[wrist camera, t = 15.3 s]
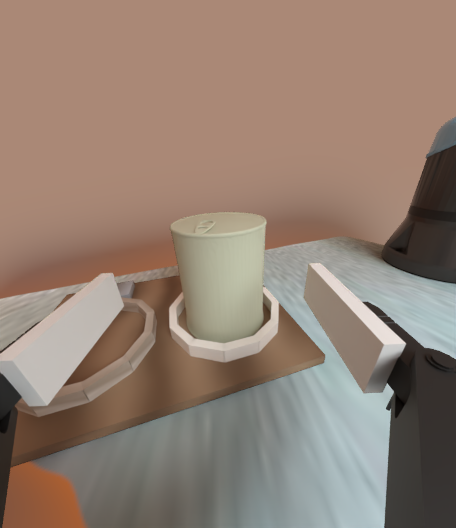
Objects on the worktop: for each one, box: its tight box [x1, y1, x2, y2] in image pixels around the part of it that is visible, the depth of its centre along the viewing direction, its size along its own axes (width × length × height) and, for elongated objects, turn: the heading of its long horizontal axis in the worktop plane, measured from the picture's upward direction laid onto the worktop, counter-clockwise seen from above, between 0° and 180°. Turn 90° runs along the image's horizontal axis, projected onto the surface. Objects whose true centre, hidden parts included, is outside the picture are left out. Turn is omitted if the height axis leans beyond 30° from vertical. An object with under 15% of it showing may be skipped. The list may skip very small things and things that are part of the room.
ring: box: [169, 287, 279, 363], centre depth 25 cm, size 13×18×2 cm
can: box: [170, 212, 267, 343], centre depth 21 cm, size 9×9×12 cm
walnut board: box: [11, 275, 325, 467], centre depth 23 cm, size 29×21×2 cm
